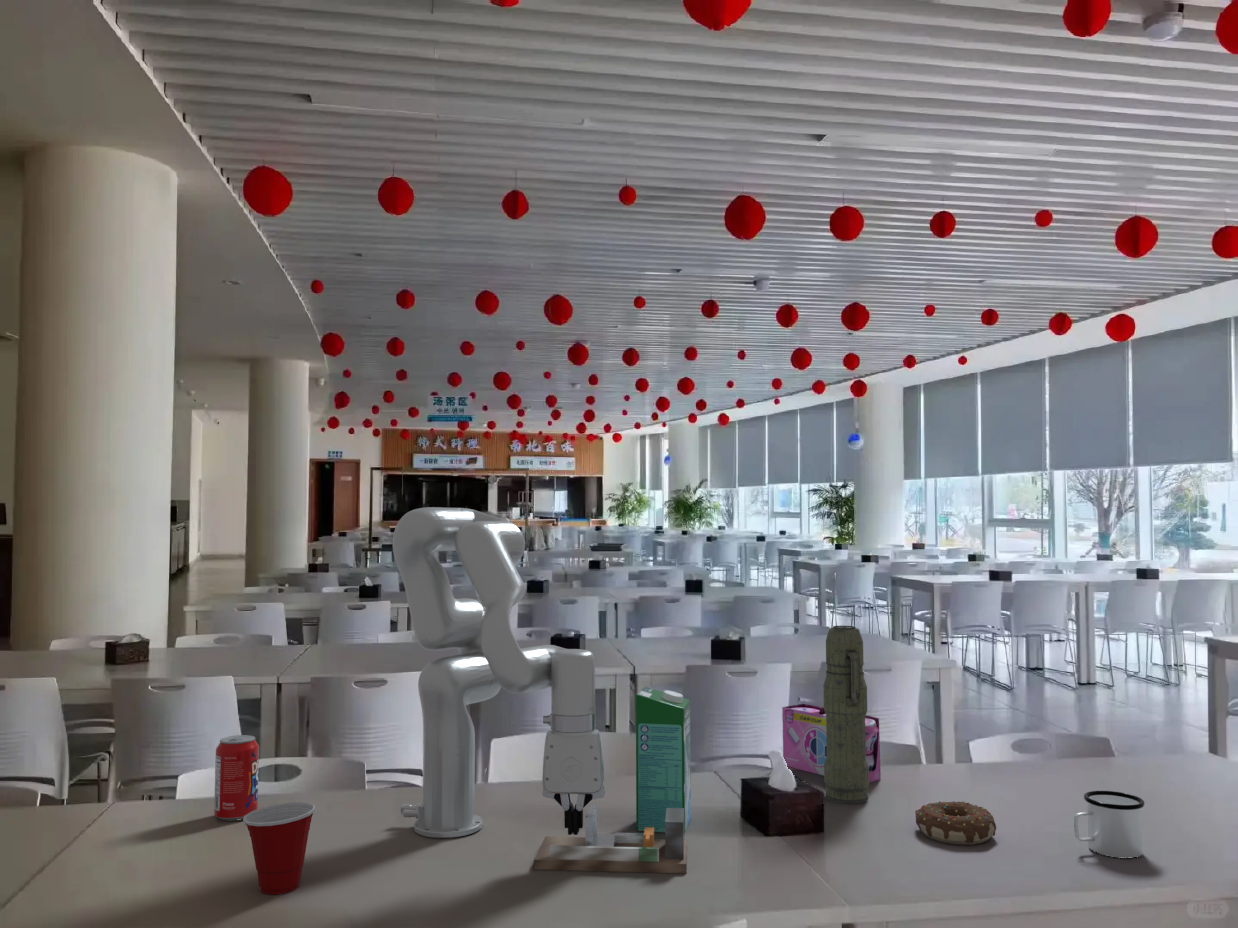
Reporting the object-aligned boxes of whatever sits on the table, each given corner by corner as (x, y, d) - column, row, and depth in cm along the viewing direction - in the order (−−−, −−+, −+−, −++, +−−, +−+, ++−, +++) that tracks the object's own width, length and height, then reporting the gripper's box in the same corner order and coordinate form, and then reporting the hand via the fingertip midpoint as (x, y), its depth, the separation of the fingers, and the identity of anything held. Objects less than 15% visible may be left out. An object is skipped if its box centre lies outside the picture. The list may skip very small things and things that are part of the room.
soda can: (204, 820, 186) (206, 740, 187) (235, 808, 193) (236, 732, 194) (236, 824, 183) (238, 744, 184) (266, 813, 190) (267, 735, 191)
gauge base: (533, 869, 159) (534, 822, 160) (545, 845, 171) (545, 801, 172) (686, 873, 157) (686, 826, 158) (687, 848, 169) (686, 804, 170)
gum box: (887, 781, 213) (886, 718, 214) (864, 787, 208) (863, 723, 209) (804, 760, 232) (803, 702, 233) (781, 765, 227) (780, 706, 228)
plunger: (585, 854, 161) (585, 817, 162) (590, 840, 168) (590, 805, 169) (643, 855, 161) (642, 818, 161) (645, 841, 168) (645, 806, 168)
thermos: (851, 788, 207) (849, 623, 210) (880, 803, 196) (877, 629, 198) (814, 791, 205) (811, 624, 207) (840, 807, 194) (838, 630, 196)
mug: (1123, 841, 173) (1121, 789, 173) (1159, 859, 164) (1157, 804, 164) (1060, 844, 172) (1058, 791, 172) (1092, 862, 162) (1090, 807, 163)
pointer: (642, 856, 159) (642, 838, 159) (644, 841, 166) (644, 825, 166) (652, 856, 159) (652, 838, 159) (654, 841, 166) (654, 825, 166)
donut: (1007, 835, 177) (1007, 807, 177) (977, 854, 167) (976, 824, 167) (933, 819, 187) (932, 792, 187) (900, 836, 177) (899, 808, 177)
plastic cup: (252, 876, 157) (254, 800, 157) (321, 874, 157) (322, 798, 158) (231, 902, 146) (233, 821, 146) (305, 900, 147) (306, 819, 147)
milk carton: (684, 834, 177) (683, 695, 179) (636, 831, 179) (635, 693, 181) (690, 819, 186) (690, 687, 188) (644, 816, 188) (644, 685, 189)
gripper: (526, 727, 163) (526, 838, 162) (614, 728, 162) (615, 840, 161) (534, 718, 171) (534, 824, 169) (618, 719, 169) (619, 826, 168)
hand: (573, 832), depth 165 cm, fingers closed
